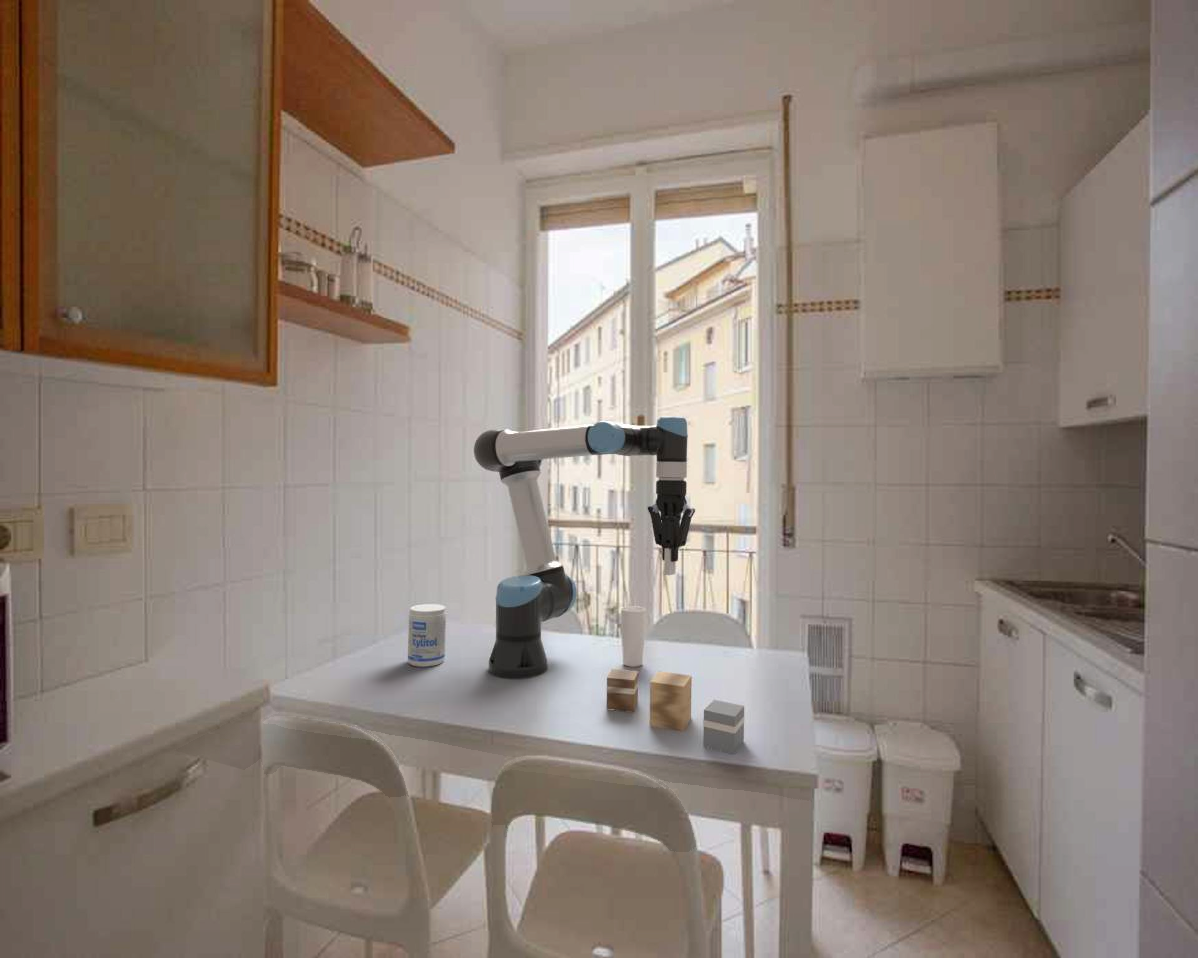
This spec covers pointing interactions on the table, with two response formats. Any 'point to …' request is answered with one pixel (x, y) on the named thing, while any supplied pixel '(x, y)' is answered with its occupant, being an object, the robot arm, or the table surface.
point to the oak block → (670, 700)
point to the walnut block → (622, 690)
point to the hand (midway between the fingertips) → (669, 574)
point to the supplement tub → (426, 635)
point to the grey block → (723, 726)
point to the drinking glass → (633, 634)
